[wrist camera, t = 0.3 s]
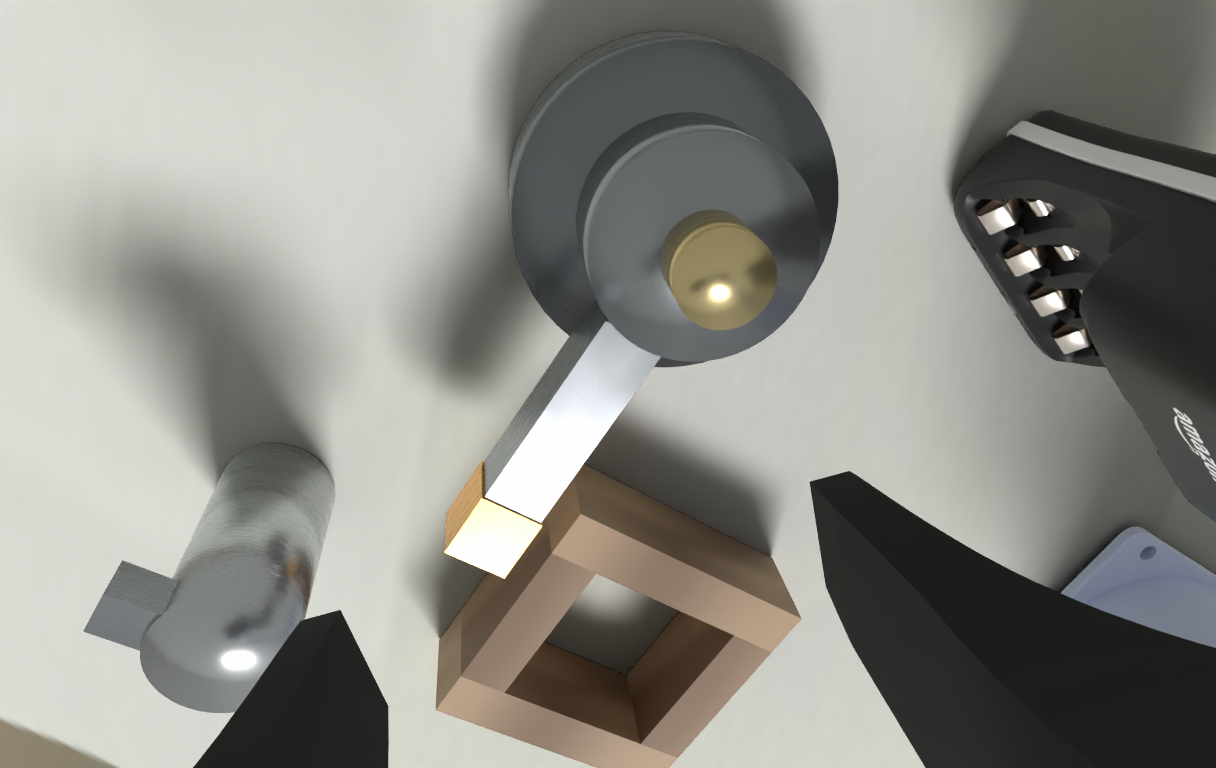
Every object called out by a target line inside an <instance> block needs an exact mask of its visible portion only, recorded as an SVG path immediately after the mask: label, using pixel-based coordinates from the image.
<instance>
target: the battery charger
mask: <svg viewBox="0 0 1216 768" xmlns="http://www.w3.org/2000/svg"><path fill="white" fill-rule="evenodd" d="M1006 136H1007V137H1006V138H1005V139H1004V140H1002V141H1001V142H1000V143H999V144H997V145H996V146H995V147H994V148H992V149H991V150H990V151H988V152H987V153H986V154H985V155H984V156H983V158H982V159H981V160H980V161H979V162H978V163H977V164H976V165H975V166H974V167H973V169H972V170H971V171H970V172H969V173H968V175H967V176H966V178H965V179H964V181H963V182H962V184H961V185H960V187H959V189H958V192H957V194H956V198H955V203H954V212H955V216H956V219H957V221H958V224H959V226H960V228H961V230H962V232H963V234H964V235H965V237H966V239H967V240H968V242H969V243H970V245H971V246H972V248H973V250H974V251H975V253H976V254H977V256H978V258H979V259H980V261H981V262H982V264H983V265H984V267H985V269H986V270H987V272H988V273H989V275H990V276H991V278H992V280H993V281H994V283H995V284H996V286H997V287H998V289H999V291H1000V292H1001V294H1002V295H1003V297H1004V298H1005V300H1006V301H1007V303H1008V304H1009V306H1010V308H1011V309H1012V311H1013V312H1014V314H1015V315H1016V317H1017V318H1018V320H1019V321H1020V323H1021V325H1022V326H1023V328H1024V329H1025V331H1026V332H1027V334H1028V335H1029V337H1030V338H1031V339H1032V341H1033V342H1034V343H1035V344H1036V346H1037V347H1038V348H1039V349H1040V350H1041V351H1042V352H1043V353H1044V354H1046V355H1047V356H1049V357H1050V358H1052V359H1053V360H1056V361H1062V362H1072V363H1078V364H1084V365H1090V366H1099V367H1106V368H1107V369H1108V371H1109V373H1110V374H1111V376H1112V378H1113V379H1114V381H1115V383H1116V384H1117V386H1118V388H1119V389H1120V391H1121V393H1122V394H1123V396H1124V398H1125V399H1126V400H1127V401H1128V403H1129V404H1130V405H1131V406H1132V408H1133V409H1134V410H1135V412H1136V414H1137V415H1138V417H1139V419H1140V420H1141V422H1142V424H1143V426H1144V427H1145V429H1146V431H1147V432H1148V434H1149V436H1150V437H1151V439H1152V441H1153V442H1154V444H1155V446H1156V447H1157V453H1158V454H1159V456H1160V458H1161V460H1162V461H1163V463H1164V465H1165V466H1166V468H1167V470H1168V471H1169V473H1170V475H1171V476H1172V478H1173V480H1174V482H1175V483H1176V485H1177V486H1178V488H1179V489H1180V491H1181V492H1182V493H1183V495H1184V496H1185V497H1186V499H1187V500H1188V501H1189V502H1190V503H1192V504H1193V505H1194V506H1196V507H1197V508H1198V509H1200V510H1201V511H1202V512H1203V513H1205V514H1206V515H1207V516H1209V517H1210V518H1211V519H1213V520H1214V521H1215V522H1216V155H1215V154H1210V153H1206V152H1202V151H1198V150H1194V149H1190V148H1186V147H1181V146H1177V145H1173V144H1169V143H1164V142H1160V141H1155V140H1151V139H1146V138H1142V137H1138V136H1134V135H1130V134H1126V133H1123V132H1119V131H1115V130H1112V129H1109V128H1106V127H1102V126H1099V125H1096V124H1092V123H1088V122H1085V121H1082V120H1079V119H1076V118H1073V117H1070V116H1066V115H1063V114H1060V113H1057V112H1054V111H1052V110H1046V111H1041V112H1039V113H1037V114H1036V115H1034V116H1033V117H1032V118H1030V119H1029V120H1028V121H1020V122H1019V123H1018V124H1017V125H1015V126H1014V127H1013V128H1012V129H1010V130H1009V131H1008V132H1007V135H1006Z"/></svg>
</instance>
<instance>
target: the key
mask: <svg viewBox="0 0 1216 768" xmlns="http://www.w3.org/2000/svg"><path fill="white" fill-rule="evenodd" d="M334 499H335V487H334V482H333V479H332V477H331V475H330V473H329V471H328V470H327V468H326V467H325V466H324V465H323V464H322V462H321V461H319V460H318V459H317V458H316V457H315V456H313V455H312V454H310V453H308V452H306V451H305V450H303V449H300V448H297V447H294V446H290V445H286V444H276V443H271V444H262V445H257V446H253V447H250V448H248V449H246V450H244V451H242V452H240V453H239V454H237V455H236V456H235V457H234V458H232V459H231V461H230V462H229V463H228V464H227V466H226V467H225V469H224V471H223V473H222V475H221V477H220V479H219V481H218V484H217V486H216V488H215V490H214V492H213V494H212V496H211V498H210V500H209V502H208V505H207V507H206V509H205V511H204V513H203V515H202V517H201V519H200V521H199V524H198V526H197V528H196V530H195V532H194V534H193V536H192V538H191V540H190V542H189V545H188V547H187V549H186V551H185V553H184V555H183V557H182V559H181V561H180V563H179V566H178V568H177V570H176V572H175V574H174V576H173V578H172V579H171V578H168V577H166V576H163V575H160V574H158V573H155V572H152V571H150V570H147V569H144V568H141V567H139V566H136V565H133V564H131V563H128V562H125V561H123V560H122V562H121V564H120V566H119V567H118V569H117V571H116V573H115V574H114V576H113V578H112V580H111V581H110V583H109V585H108V587H107V588H106V590H105V592H104V594H103V595H102V597H101V599H100V601H99V603H98V605H97V607H96V609H95V610H94V612H93V614H92V616H91V618H90V620H89V622H88V624H87V625H86V627H85V629H84V632H87V633H89V634H92V635H95V636H98V637H101V638H104V639H107V640H110V641H113V642H116V643H119V644H122V645H125V646H128V647H131V648H134V649H137V650H140V660H141V665H142V669H143V671H144V673H145V675H146V677H147V679H148V680H149V682H150V683H151V684H152V685H153V686H154V687H155V689H156V690H157V691H159V692H160V693H161V694H162V695H164V696H165V697H167V698H168V699H170V700H171V701H173V702H175V703H177V704H179V705H182V706H185V707H187V708H190V709H194V710H198V711H204V712H211V713H230V712H236V710H237V709H238V708H239V706H240V705H241V704H242V702H243V701H244V699H245V698H246V697H247V695H248V694H249V692H250V691H251V690H252V688H253V687H254V685H255V684H256V683H257V681H258V680H259V678H260V677H261V675H262V674H263V672H264V671H265V670H266V668H267V667H268V665H269V664H270V662H271V661H272V660H273V658H274V657H275V655H276V654H277V652H278V651H279V650H280V648H281V647H282V645H283V644H284V643H285V641H286V640H287V638H288V637H289V636H290V634H291V633H292V631H293V630H294V629H295V628H296V626H297V625H298V624H299V622H300V621H302V620H305V616H306V612H307V608H308V604H309V600H310V596H311V592H312V588H313V584H314V580H315V576H316V572H317V568H318V564H319V560H320V556H321V552H322V548H323V544H324V540H325V536H326V532H327V528H328V524H329V520H330V516H331V512H332V508H333V504H334Z"/></svg>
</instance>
